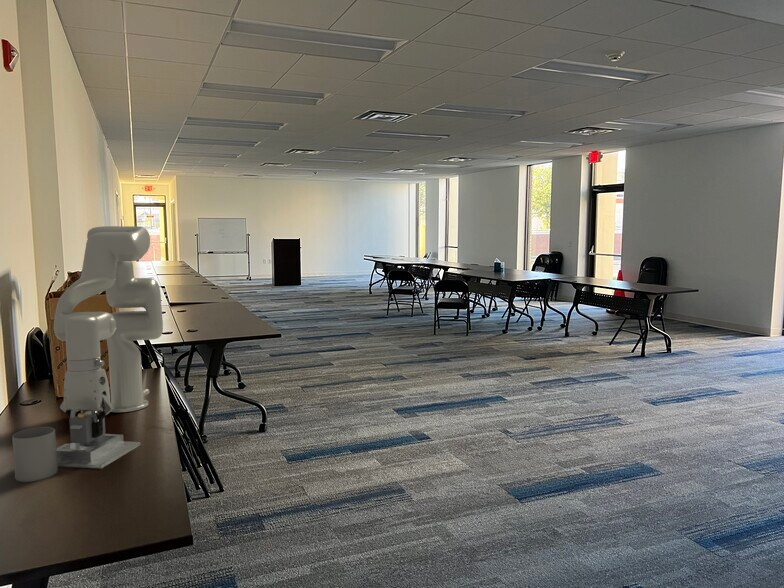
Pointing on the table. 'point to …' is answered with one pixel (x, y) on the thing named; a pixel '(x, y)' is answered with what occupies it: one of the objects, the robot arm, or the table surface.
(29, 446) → the cup
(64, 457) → the board
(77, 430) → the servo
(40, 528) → the table surface
